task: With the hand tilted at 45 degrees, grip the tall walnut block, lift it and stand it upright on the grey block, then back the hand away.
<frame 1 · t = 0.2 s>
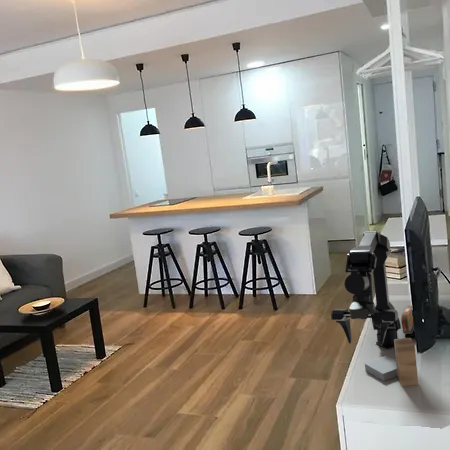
hand: (365, 344, 150), 16 cm above the tv stand, tool pointing down, fingers open, 9 cm apart
walnut block: (407, 381, 155), on the tv stand
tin: (410, 330, 191), on the tv stand
grey block: (385, 371, 163), on the tv stand
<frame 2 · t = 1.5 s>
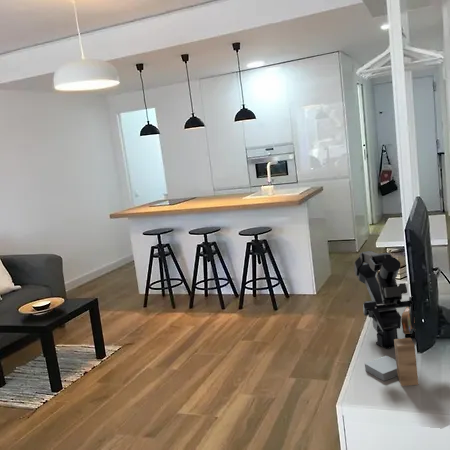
hand: (398, 330, 161), 13 cm above the tv stand, tool tilted 45°, fingers open, 9 cm apart
nothing on the tv stand moved.
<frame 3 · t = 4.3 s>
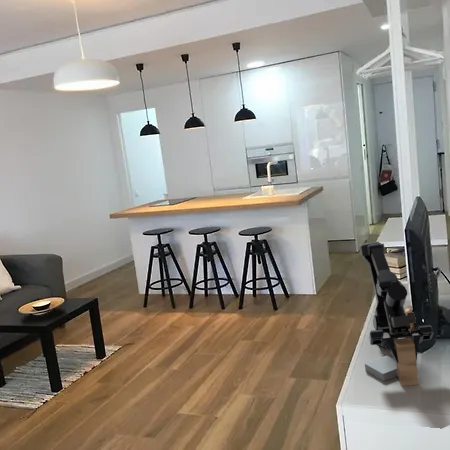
hand: (406, 361, 153), 7 cm above the tv stand, tool tilted 45°, fingers closed on walnut block, 5 cm apart
walnut block: (407, 381, 155), on the tv stand, touching gripper
everything else where it was.
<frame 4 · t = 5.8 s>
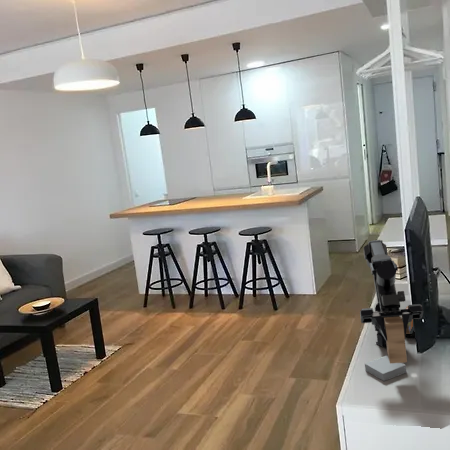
hand: (395, 339, 154), 13 cm above the tv stand, tool tilted 45°, fingers closed on walnut block, 5 cm apart
walnut block: (397, 359, 157), point 6 cm above the tv stand, touching gripper
everything else where it was.
when the fingers open (10 cm above the tv stand, at t = 7.4 s): walnut block stays where it is, resting on grey block.
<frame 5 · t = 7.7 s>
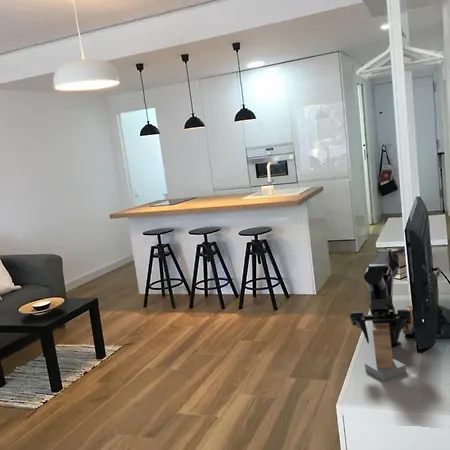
hand: (382, 342, 160), 11 cm above the tv stand, tool tilted 45°, fingers open, 8 cm apart
walnut block: (384, 364, 163), point 2 cm above the tv stand, touching grey block
everything else where it was.
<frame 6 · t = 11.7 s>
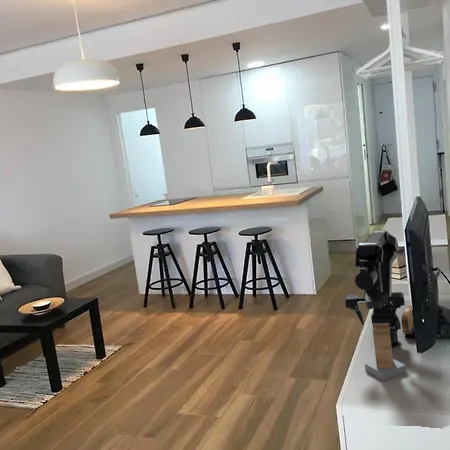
hand: (377, 324, 169), 13 cm above the tv stand, tool pointing down, fingers open, 9 cm apart
nothing on the tv stand moved.
at the end: walnut block 0.0 cm off-centre on the grey block, point 2.5 cm above the grey block's base; walnut block tilted 0°; the gripper is holding nothing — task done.
